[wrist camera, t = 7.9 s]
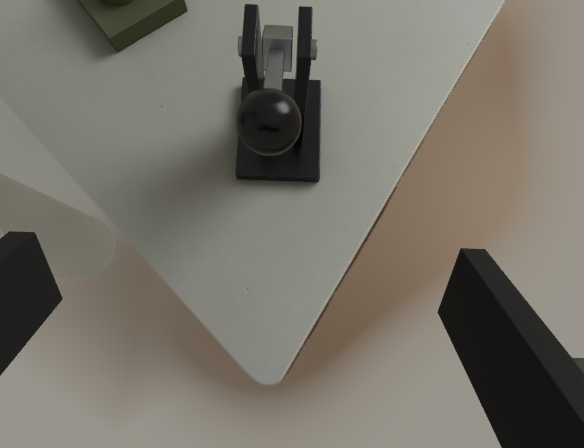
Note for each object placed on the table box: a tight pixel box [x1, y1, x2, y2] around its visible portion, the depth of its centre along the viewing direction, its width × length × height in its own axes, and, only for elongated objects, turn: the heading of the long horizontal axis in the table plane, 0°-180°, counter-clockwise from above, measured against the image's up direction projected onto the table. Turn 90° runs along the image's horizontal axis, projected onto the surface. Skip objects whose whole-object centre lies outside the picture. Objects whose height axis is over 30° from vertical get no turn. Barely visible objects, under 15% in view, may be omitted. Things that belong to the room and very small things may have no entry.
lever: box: [236, 25, 302, 156], centre depth 23 cm, size 14×4×4 cm, turn 178°
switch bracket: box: [236, 4, 321, 182], centre depth 32 cm, size 12×9×15 cm
